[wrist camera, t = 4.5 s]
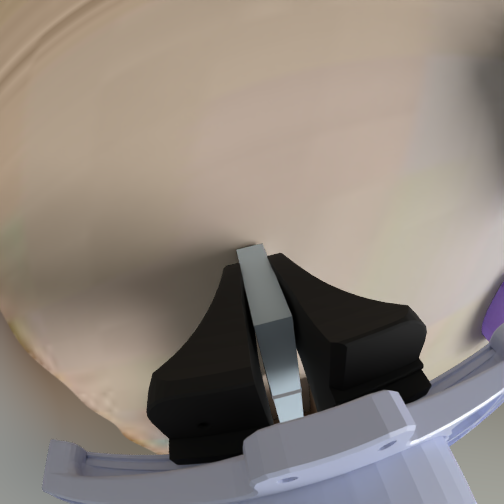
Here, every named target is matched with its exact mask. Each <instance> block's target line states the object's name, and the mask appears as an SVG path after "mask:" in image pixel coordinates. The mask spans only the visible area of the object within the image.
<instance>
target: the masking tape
mask: <svg viewBox="0 0 504 504" xmlns="http://www.w3.org/2000/svg"><path fill="white" fill-rule="evenodd" d="M503 323H504V281H503V283H502V285H501V286H500V288H499V290H498V291H497V293H496V295H495V297H494V298H493V300H492V302H491V304H490V306H489V308H488V311H487V313H486V315H485V318H484V321H483V324H482V334H483V335H484V336H485V338H486V339H487V340H488V341H490V339H491V336H492V335H493V333H494V331H495V330H496V329H497V328H498V327H499V326H500V325H501V324H503Z"/></svg>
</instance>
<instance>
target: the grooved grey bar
mask: <svg viewBox="0 0 504 504" xmlns="http://www.w3.org/2000/svg"><path fill="white" fill-rule="evenodd" d="M236 251H237V255H238V259H239V263H240V267H241V271H242V276H243V282H244V286H245V290H246V295H247V299H248V303H249V308H250V312H251V316H252V320H253V325H254V329H255V332H256V336H257V340H258V344H259V348H260V352H261V356H262V360H263V364H264V368H265V372H266V376H267V380H268V384H269V389H270V393H271V397H272V400H273V399H274V403H275V406H276V410H277V414H278V417H279V421H280V423H281V422H285V421H289V420H293V419H297V418H300V417H304V416H303V406H302V396H301V392H302V387H301V384H300V377H299V368H298V360H297V351H296V343H295V335H294V327H293V319H292V315H291V312H290V310H289V307H288V305H287V302H286V300H285V297H284V295H283V292H282V290H281V288H280V285H279V283H278V280H277V278H276V275H275V273H274V271H273V270H272V268H271V265H270V263H269V260H268V258H267V254H266V251H265V249H264V247H263V244H258V245H254V246H249V247H245V248H241V249H237V250H236Z"/></svg>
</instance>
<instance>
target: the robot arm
mask: <svg viewBox="0 0 504 504" xmlns="http://www.w3.org/2000/svg"><path fill="white" fill-rule="evenodd" d="M267 258H268V260H269V263H270V265H271V268H272V270H273V271H274V273H275V275H276V278H277V280H278V283H279V285H280V288H281V290H282V292H283V295H284V297H285V300H286V302H287V305H288V307H289V310H290V312H291V315H292V319H293V327H294V335H295V343H296V349H297V351H298V353H299V356H300V358H301V361H302V364H303V367H304V370H305V374H306V377H307V380H308V383H309V386H310V389H311V392H312V396H313V399H314V402H315V405H316V409H317V413H314V414H311V415H307V416H304V417H300V418H297V419H293V420H289V421H285V422H281V423H277V424H274V423H273V419H272V415H271V411H270V407H269V403H268V399H267V395H266V391H265V387H264V383H263V379H262V374H261V370H260V365H259V359H258V352H257V344H256V336H255V329H254V325H253V320H252V316H251V312H250V308H249V303H248V299H247V295H246V290H245V286H244V282H243V276H242V271H241V267H240V263H237V264H232V265H228V266H225V268H224V270H223V274H222V278H221V281H220V284H219V287H218V289H217V292H216V295H215V297H214V299H213V301H212V303H211V305H210V307H209V309H208V311H207V313H206V315H205V317H204V318H203V320H202V321H201V323H200V325H199V326H198V328H197V329H196V330H195V332H194V333H193V334H192V336H191V337H190V338H189V340H188V341H187V342H186V343H185V344H184V345H183V346H182V347H181V349H180V350H179V351H178V352H177V353H176V354H175V355H174V356H173V357H171V358H170V359H169V360H168V361H167V362H166V363H165V364H163V365H162V366H161V367H160V368H159V369H158V370H156V371H155V372H154V373H153V374H152V378H151V382H150V386H149V391H148V401H147V416H148V418H149V420H150V421H151V422H152V423H153V424H154V425H155V426H156V427H157V428H158V429H159V430H160V431H161V432H162V433H163V434H165V435H166V436H167V437H168V438H169V454H167V455H124V454H107V453H95V452H86V451H85V450H84V449H83V448H82V447H80V446H79V445H77V444H75V443H72V442H68V441H61V440H55V439H52V440H50V444H49V449H48V454H47V460H46V465H45V471H44V478H43V484H42V490H43V491H44V492H46V493H48V494H50V495H52V496H54V497H56V498H59V499H61V500H63V501H65V502H67V503H70V504H477V502H476V500H475V498H474V496H473V494H472V492H471V489H470V487H469V485H468V483H467V481H466V479H465V477H464V475H463V473H462V471H461V469H460V467H459V465H458V463H457V461H456V459H455V457H454V455H453V453H452V452H451V450H450V448H449V446H451V445H452V444H454V443H455V442H456V441H458V440H459V439H461V438H462V437H463V436H465V435H466V434H467V433H468V432H470V431H471V430H472V429H473V428H475V427H476V426H477V425H478V424H480V423H481V422H482V421H483V420H484V419H485V418H487V417H488V416H489V415H490V414H491V413H492V412H493V411H495V410H496V409H497V408H498V407H499V406H500V405H501V404H502V403H503V402H504V323H503V324H501V325H500V326H499V327H498V328H497V329H496V330H495V331H494V333H493V335H492V336H491V339H490V341H489V343H488V344H487V345H486V346H484V347H483V348H482V349H480V350H479V351H477V352H476V353H474V354H473V355H471V356H470V357H468V358H467V359H465V360H464V361H462V362H461V363H459V364H458V365H456V366H455V367H453V368H451V369H450V370H448V371H446V372H445V373H443V374H441V375H440V376H438V377H436V378H434V379H433V380H431V381H429V380H428V379H427V377H426V376H425V374H424V373H423V371H422V370H421V369H423V367H424V366H423V363H422V362H421V360H420V359H419V355H420V353H421V350H422V347H423V345H424V342H425V338H426V333H427V330H426V326H425V324H424V323H423V322H422V321H421V319H420V318H419V317H418V316H417V314H416V313H415V312H414V311H413V310H412V309H411V308H410V307H409V306H408V305H400V304H393V303H385V302H380V301H376V300H371V299H367V298H364V297H360V296H357V295H354V294H351V293H348V292H345V291H343V290H340V289H338V288H336V287H334V286H331V285H329V284H327V283H325V282H323V281H321V280H320V279H318V278H316V277H314V276H313V275H311V274H310V273H308V272H307V271H305V270H304V269H302V268H301V267H299V266H298V265H297V264H295V263H294V262H292V261H291V260H290V259H289V258H287V257H286V256H285V255H283V254H282V253H278V254H274V255H270V256H267Z"/></svg>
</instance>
